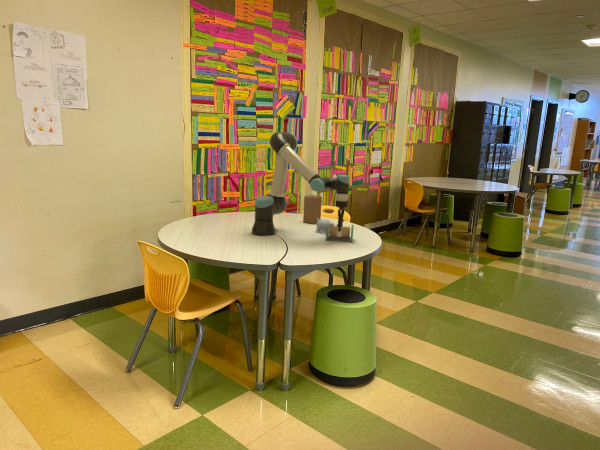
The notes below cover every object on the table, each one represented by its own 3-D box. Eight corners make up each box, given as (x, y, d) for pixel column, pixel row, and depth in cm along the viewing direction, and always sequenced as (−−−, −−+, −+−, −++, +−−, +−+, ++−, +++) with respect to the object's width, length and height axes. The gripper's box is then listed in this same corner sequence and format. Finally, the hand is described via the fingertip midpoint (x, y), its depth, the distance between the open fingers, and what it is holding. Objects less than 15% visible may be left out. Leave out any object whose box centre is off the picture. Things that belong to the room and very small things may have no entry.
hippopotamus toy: (330, 235, 278) (331, 221, 277) (311, 232, 287) (312, 218, 285) (339, 233, 287) (340, 219, 285) (320, 229, 295) (320, 216, 294)
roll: (329, 237, 265) (330, 226, 264) (330, 235, 272) (330, 224, 271) (349, 239, 263) (350, 227, 262) (349, 237, 270) (350, 226, 269)
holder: (325, 240, 264) (326, 226, 262) (326, 236, 274) (327, 223, 272) (352, 242, 262) (353, 228, 260) (352, 238, 272) (353, 224, 270)
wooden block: (320, 222, 322) (322, 196, 318) (314, 224, 313) (315, 197, 309) (309, 220, 327) (310, 194, 323) (302, 222, 319) (303, 195, 315)
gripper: (347, 203, 251) (345, 238, 255) (348, 198, 275) (346, 230, 279) (334, 202, 252) (332, 238, 256) (336, 197, 276) (334, 229, 280)
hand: (339, 234), depth 267 cm, fingers open, 13 cm apart
